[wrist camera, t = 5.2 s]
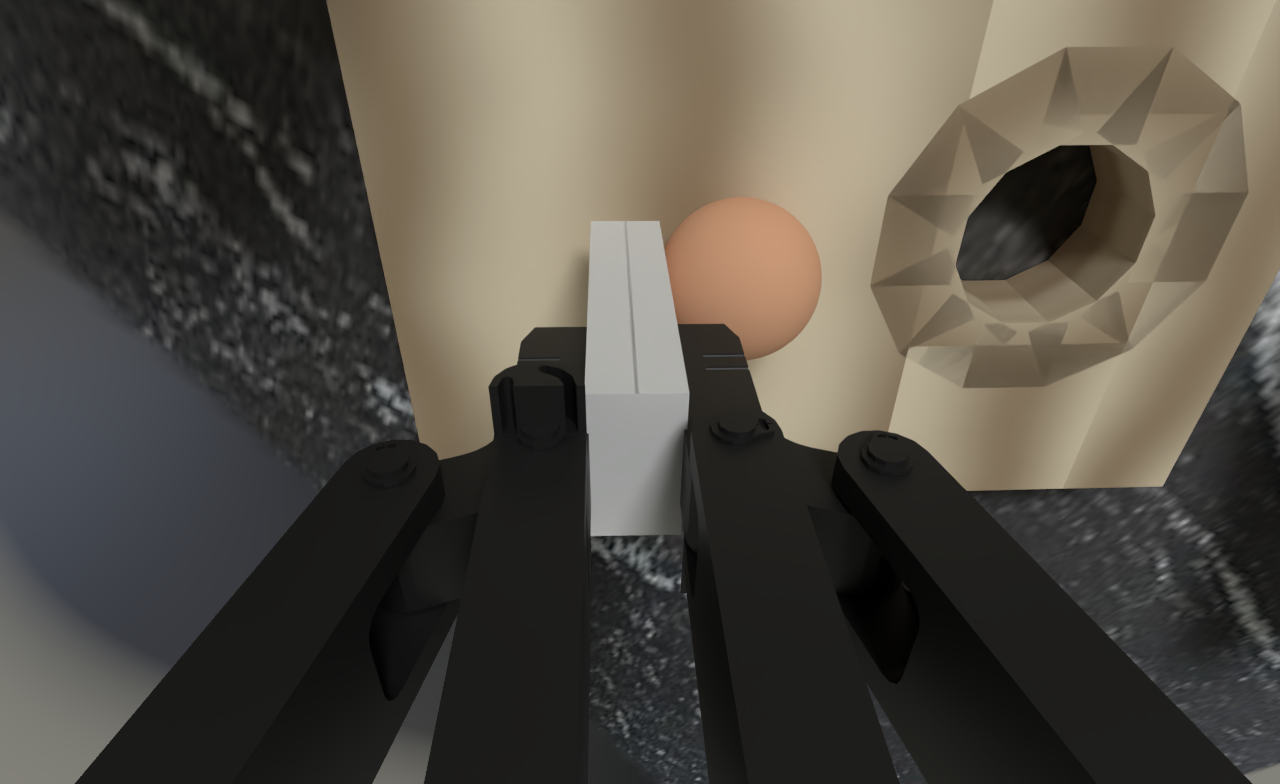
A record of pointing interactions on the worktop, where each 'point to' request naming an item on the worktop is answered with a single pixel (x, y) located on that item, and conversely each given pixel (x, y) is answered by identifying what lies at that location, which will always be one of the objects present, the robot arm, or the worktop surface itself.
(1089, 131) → the board
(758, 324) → the ball
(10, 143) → the worktop surface
